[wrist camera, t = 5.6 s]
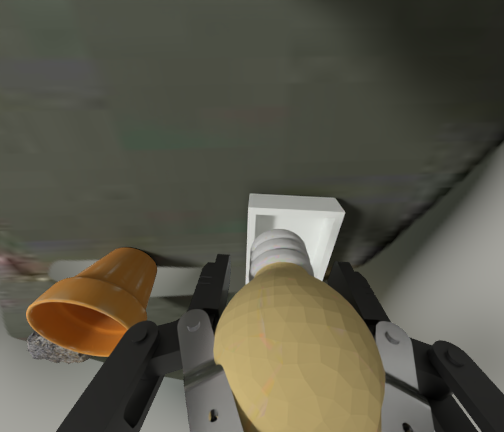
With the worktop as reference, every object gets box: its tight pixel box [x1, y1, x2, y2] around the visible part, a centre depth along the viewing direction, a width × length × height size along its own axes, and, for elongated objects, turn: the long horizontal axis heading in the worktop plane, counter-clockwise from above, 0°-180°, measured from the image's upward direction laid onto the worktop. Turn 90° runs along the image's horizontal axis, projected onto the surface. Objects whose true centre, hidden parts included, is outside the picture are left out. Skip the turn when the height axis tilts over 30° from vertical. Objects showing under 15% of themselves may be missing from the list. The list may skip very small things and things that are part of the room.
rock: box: [27, 331, 91, 364], centre depth 50 cm, size 13×6×15 cm
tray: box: [246, 194, 345, 284], centre depth 31 cm, size 16×12×6 cm
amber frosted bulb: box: [213, 229, 385, 432], centre depth 10 cm, size 6×6×10 cm
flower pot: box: [26, 248, 157, 357], centre depth 33 cm, size 14×14×13 cm
